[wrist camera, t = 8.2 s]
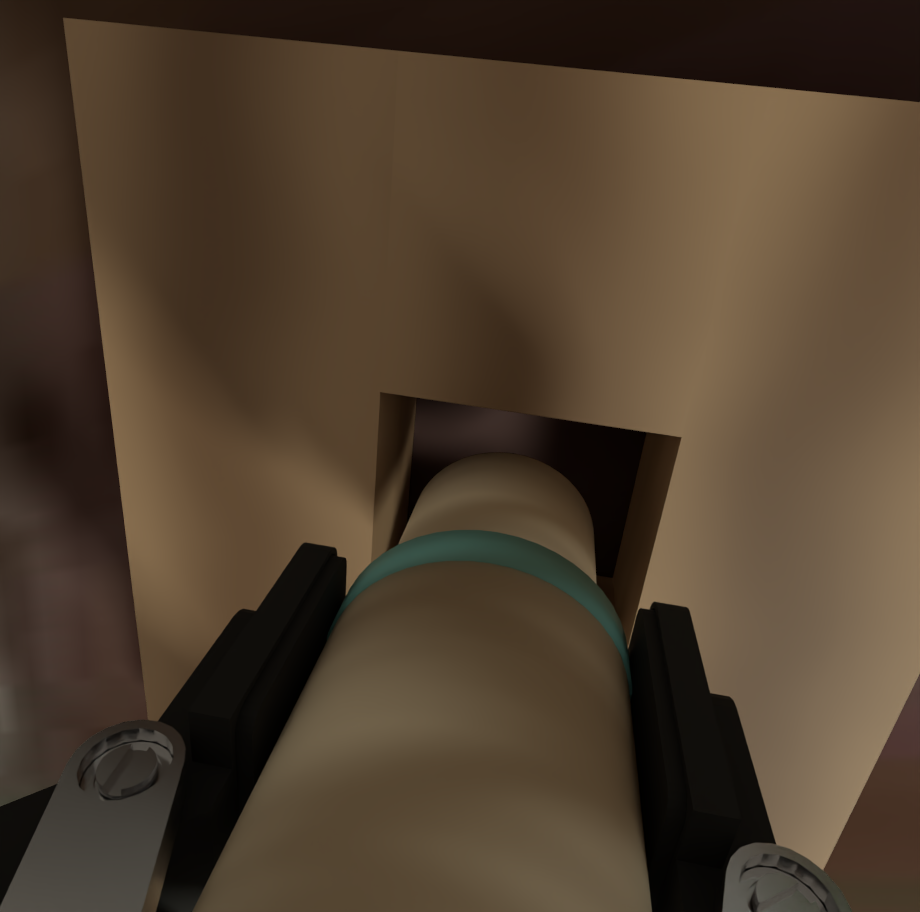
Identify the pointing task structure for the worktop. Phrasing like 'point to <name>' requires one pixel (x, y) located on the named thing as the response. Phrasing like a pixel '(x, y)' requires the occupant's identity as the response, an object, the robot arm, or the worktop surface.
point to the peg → (457, 725)
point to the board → (521, 345)
